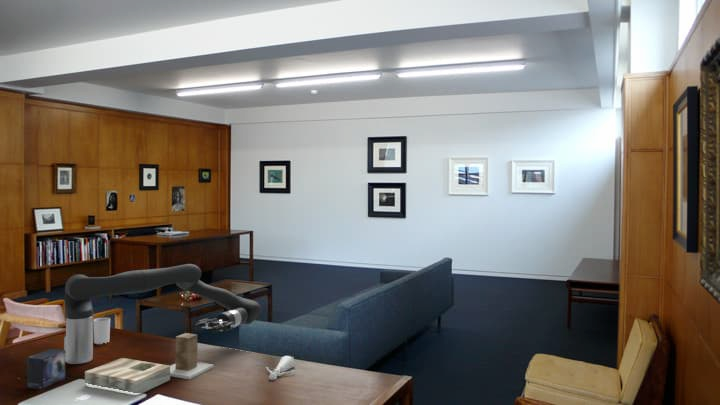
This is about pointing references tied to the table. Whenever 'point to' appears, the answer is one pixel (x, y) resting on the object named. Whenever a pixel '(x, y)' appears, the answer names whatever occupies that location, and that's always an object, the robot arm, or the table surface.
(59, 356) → the small box
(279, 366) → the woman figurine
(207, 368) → the grey pad
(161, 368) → the slotted wooden base
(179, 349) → the brown wooden block
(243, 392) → the table surface
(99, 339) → the drinking glass
